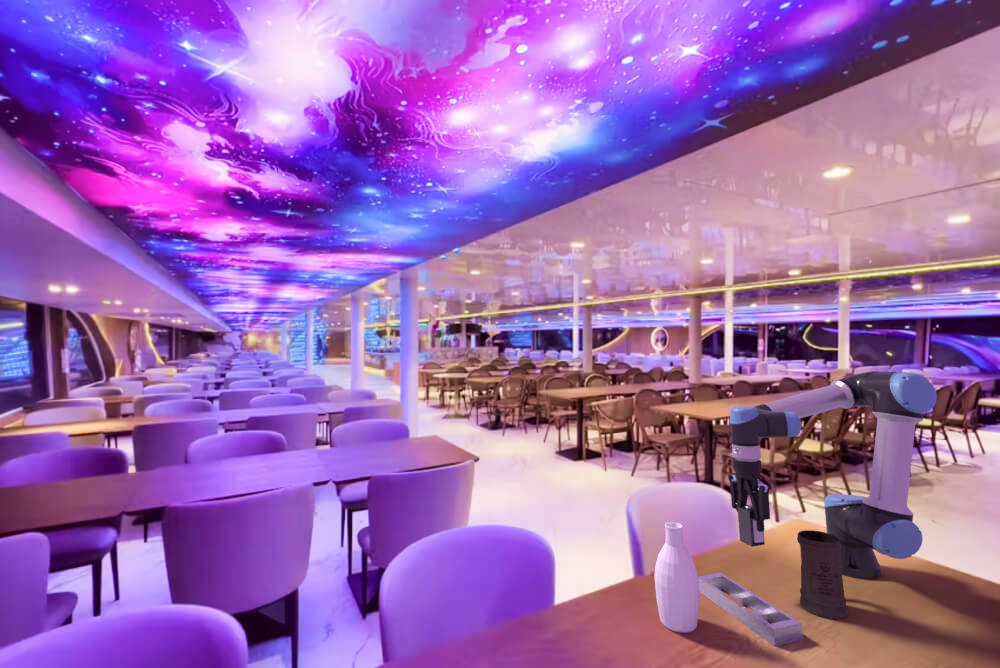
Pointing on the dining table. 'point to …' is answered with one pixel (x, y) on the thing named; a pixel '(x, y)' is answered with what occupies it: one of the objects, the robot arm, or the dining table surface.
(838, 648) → the dining table surface
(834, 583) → the beer stein
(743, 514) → the square peg with dome
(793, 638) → the frame with square openings
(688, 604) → the bottle
